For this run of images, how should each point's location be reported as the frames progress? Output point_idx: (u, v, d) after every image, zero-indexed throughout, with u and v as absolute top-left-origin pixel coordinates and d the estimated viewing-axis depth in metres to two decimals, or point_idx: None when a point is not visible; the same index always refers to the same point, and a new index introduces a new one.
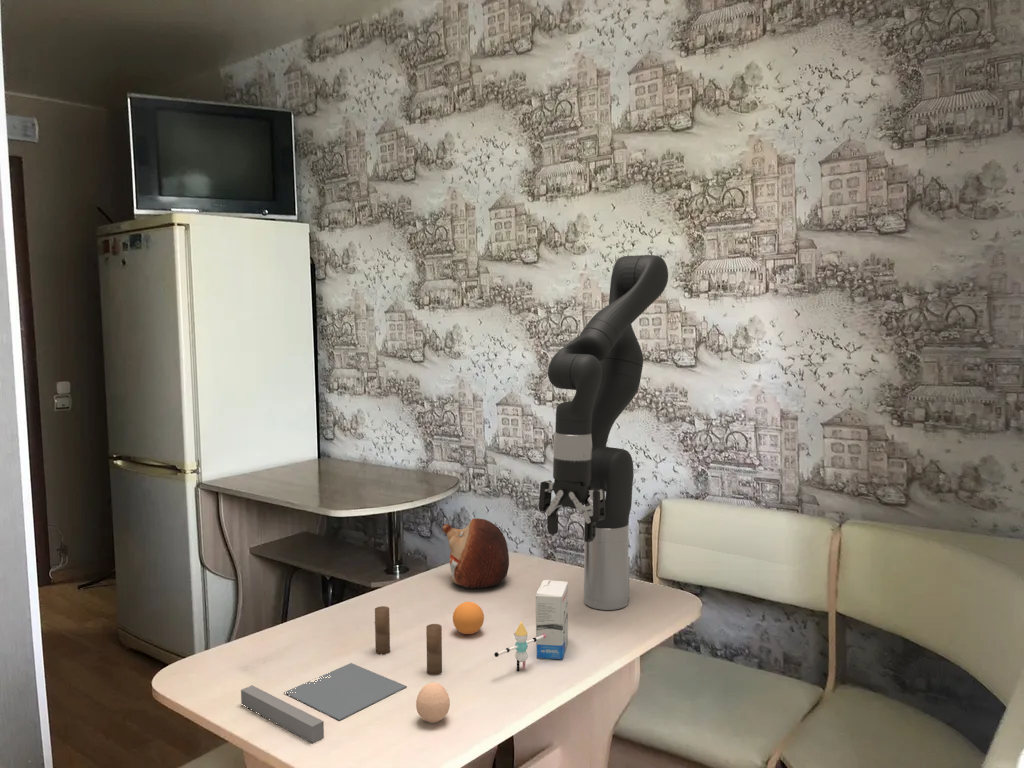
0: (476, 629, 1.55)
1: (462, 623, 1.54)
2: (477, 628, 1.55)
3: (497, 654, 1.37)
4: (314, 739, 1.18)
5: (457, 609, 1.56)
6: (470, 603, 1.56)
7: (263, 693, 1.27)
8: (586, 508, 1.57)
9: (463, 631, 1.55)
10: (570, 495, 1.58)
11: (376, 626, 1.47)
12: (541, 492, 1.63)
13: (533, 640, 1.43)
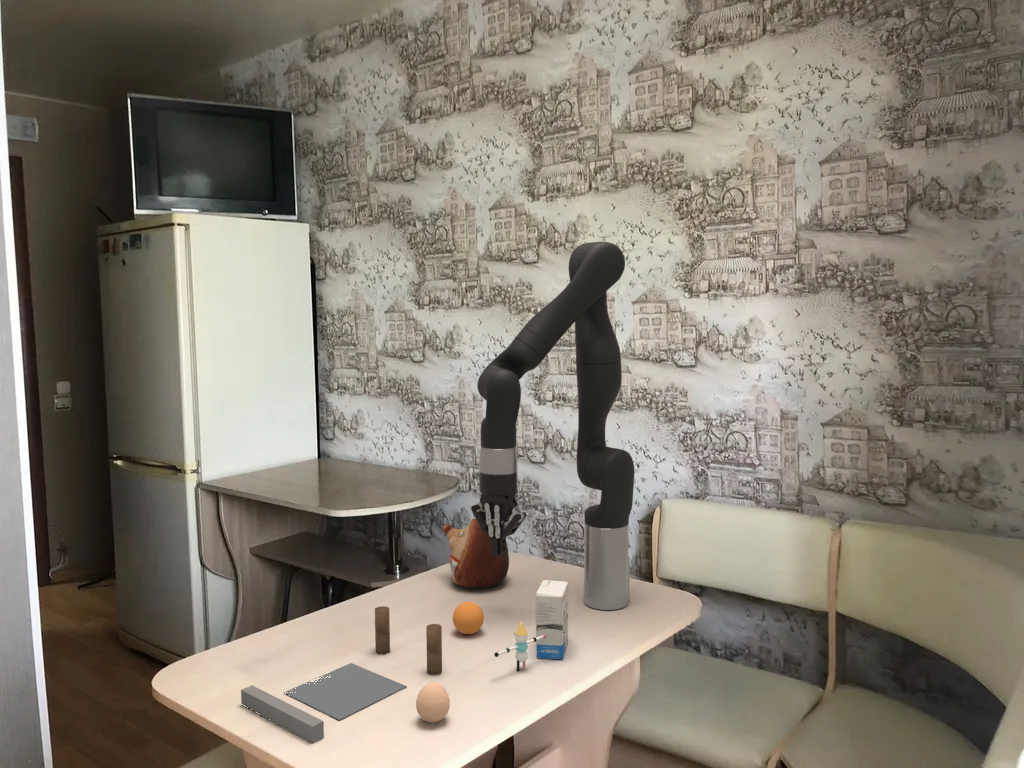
0: (476, 629, 1.55)
1: (462, 623, 1.54)
2: (477, 628, 1.55)
3: (497, 654, 1.37)
4: (314, 739, 1.18)
5: (457, 609, 1.56)
6: (470, 603, 1.56)
7: (263, 693, 1.27)
8: (502, 524, 1.60)
9: (463, 631, 1.55)
10: (496, 507, 1.59)
11: (376, 626, 1.47)
12: (476, 515, 1.64)
13: (533, 640, 1.43)
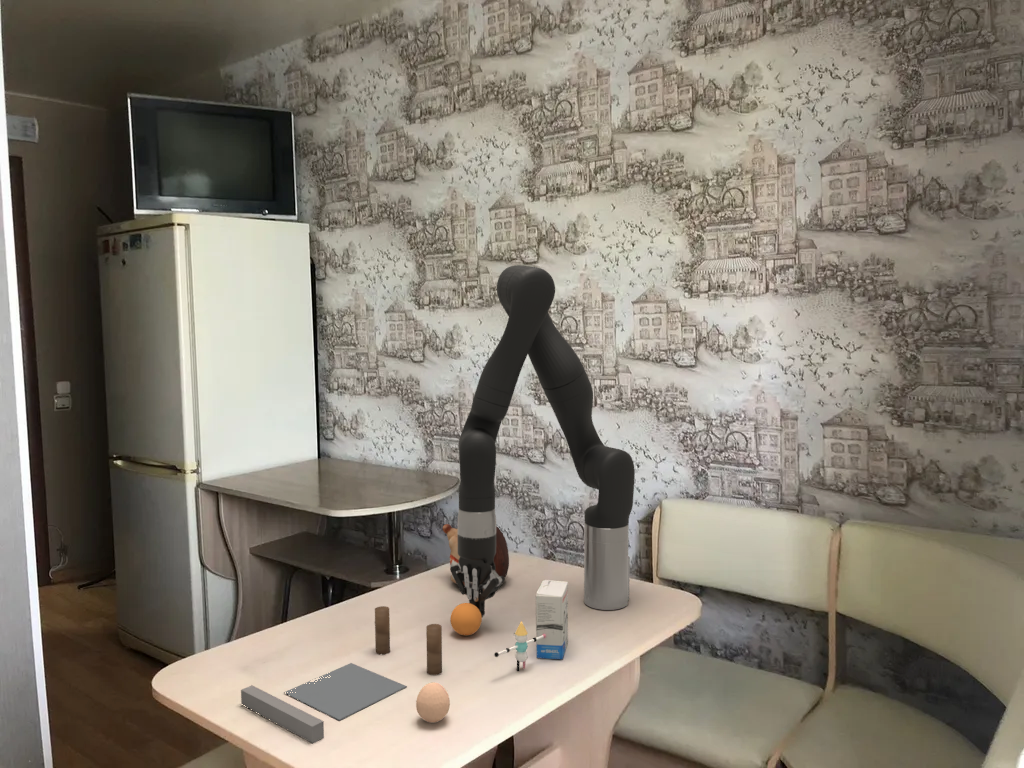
0: (474, 630, 1.54)
1: (460, 626, 1.53)
2: (475, 629, 1.54)
3: (497, 654, 1.37)
4: (314, 739, 1.18)
5: (454, 611, 1.55)
6: (467, 605, 1.55)
7: (263, 693, 1.27)
8: (480, 588, 1.58)
9: (461, 633, 1.54)
10: (473, 571, 1.57)
11: (376, 626, 1.47)
12: (455, 577, 1.61)
13: (533, 640, 1.43)
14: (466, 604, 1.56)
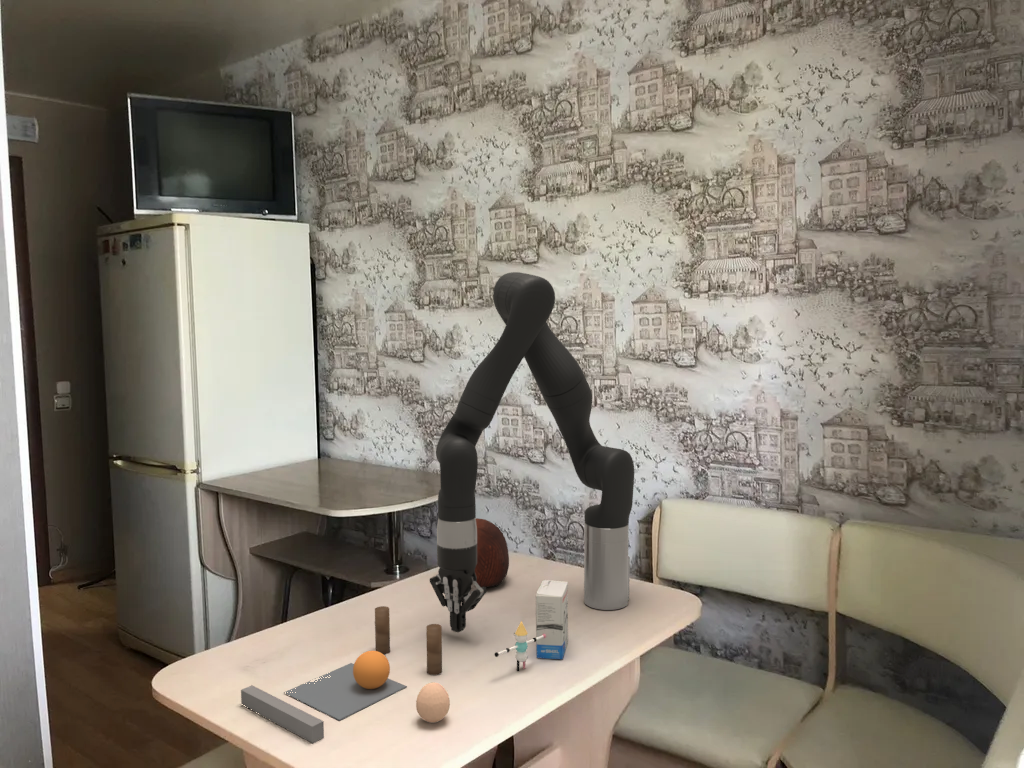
0: (389, 668, 1.34)
1: None
2: (389, 668, 1.34)
3: (497, 654, 1.37)
4: (314, 739, 1.18)
5: None
6: (363, 685, 1.32)
7: (263, 693, 1.27)
8: (461, 599, 1.52)
9: None
10: (454, 582, 1.51)
11: (376, 626, 1.47)
12: (435, 588, 1.56)
13: (533, 640, 1.43)
14: (361, 685, 1.33)
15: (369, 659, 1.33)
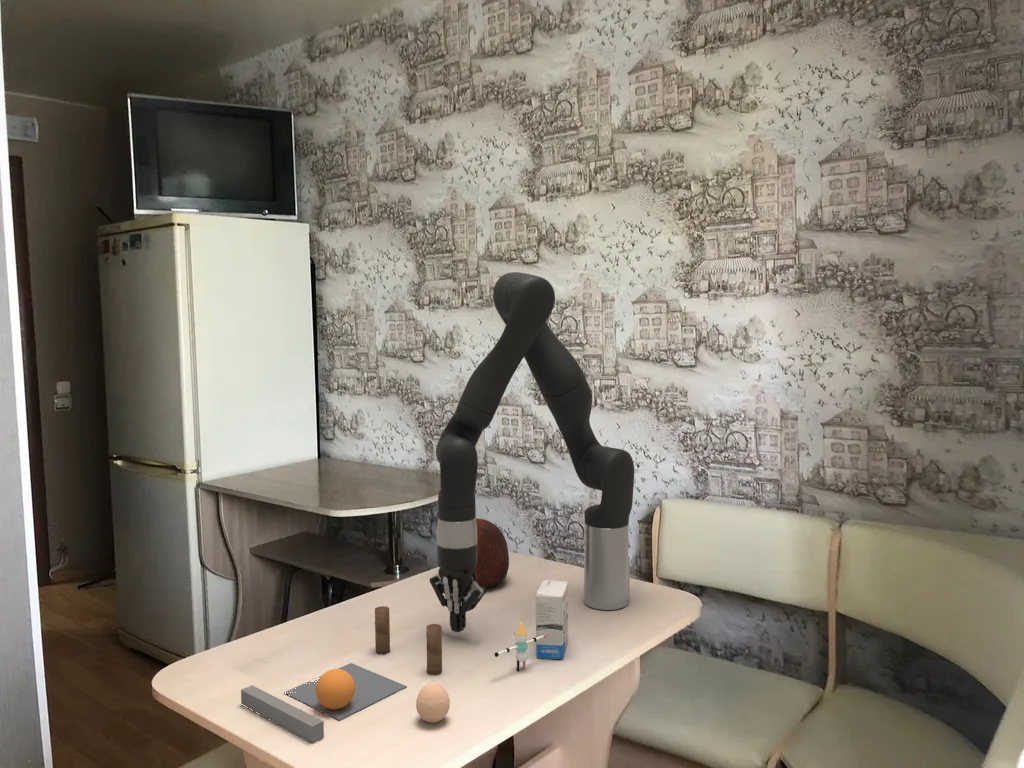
0: (339, 694, 1.25)
1: (336, 674, 1.27)
2: (341, 694, 1.25)
3: (497, 654, 1.37)
4: (314, 739, 1.18)
5: None
6: None
7: (263, 693, 1.27)
8: (461, 599, 1.52)
9: (327, 683, 1.25)
10: (454, 582, 1.51)
11: (376, 626, 1.47)
12: (435, 588, 1.56)
13: (533, 640, 1.43)
14: None
15: None
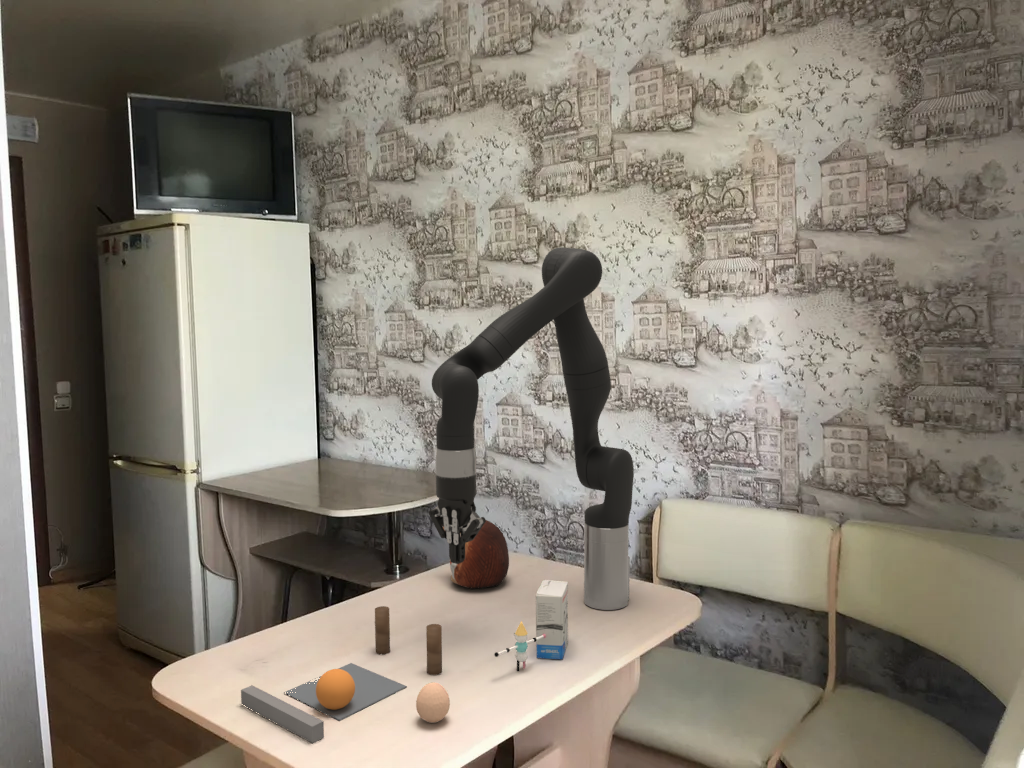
0: (339, 694, 1.25)
1: (336, 674, 1.27)
2: (341, 694, 1.25)
3: (497, 654, 1.37)
4: (314, 739, 1.18)
5: None
6: None
7: (263, 693, 1.27)
8: (460, 530, 1.51)
9: (327, 683, 1.25)
10: (453, 512, 1.50)
11: (376, 626, 1.47)
12: (434, 521, 1.55)
13: (533, 640, 1.43)
14: None
15: None
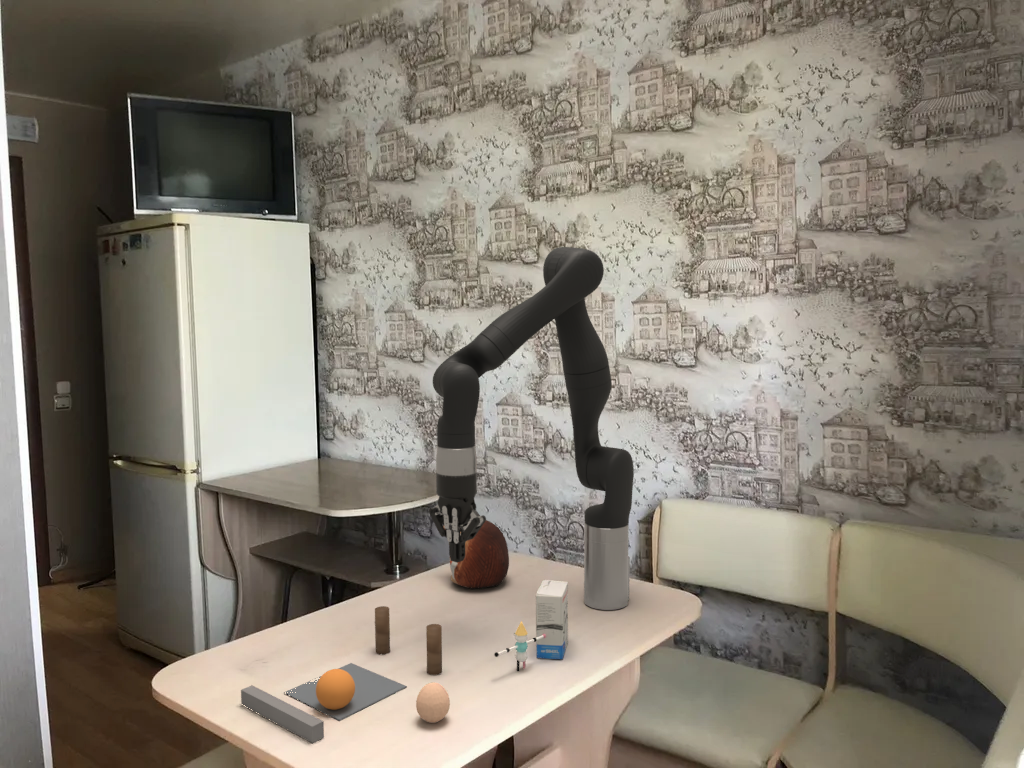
0: (339, 694, 1.25)
1: (336, 674, 1.27)
2: (341, 694, 1.25)
3: (497, 654, 1.37)
4: (314, 739, 1.18)
5: None
6: None
7: (263, 693, 1.27)
8: (461, 529, 1.51)
9: (327, 683, 1.25)
10: (453, 511, 1.50)
11: (376, 626, 1.47)
12: (434, 519, 1.54)
13: (533, 640, 1.43)
14: None
15: None
